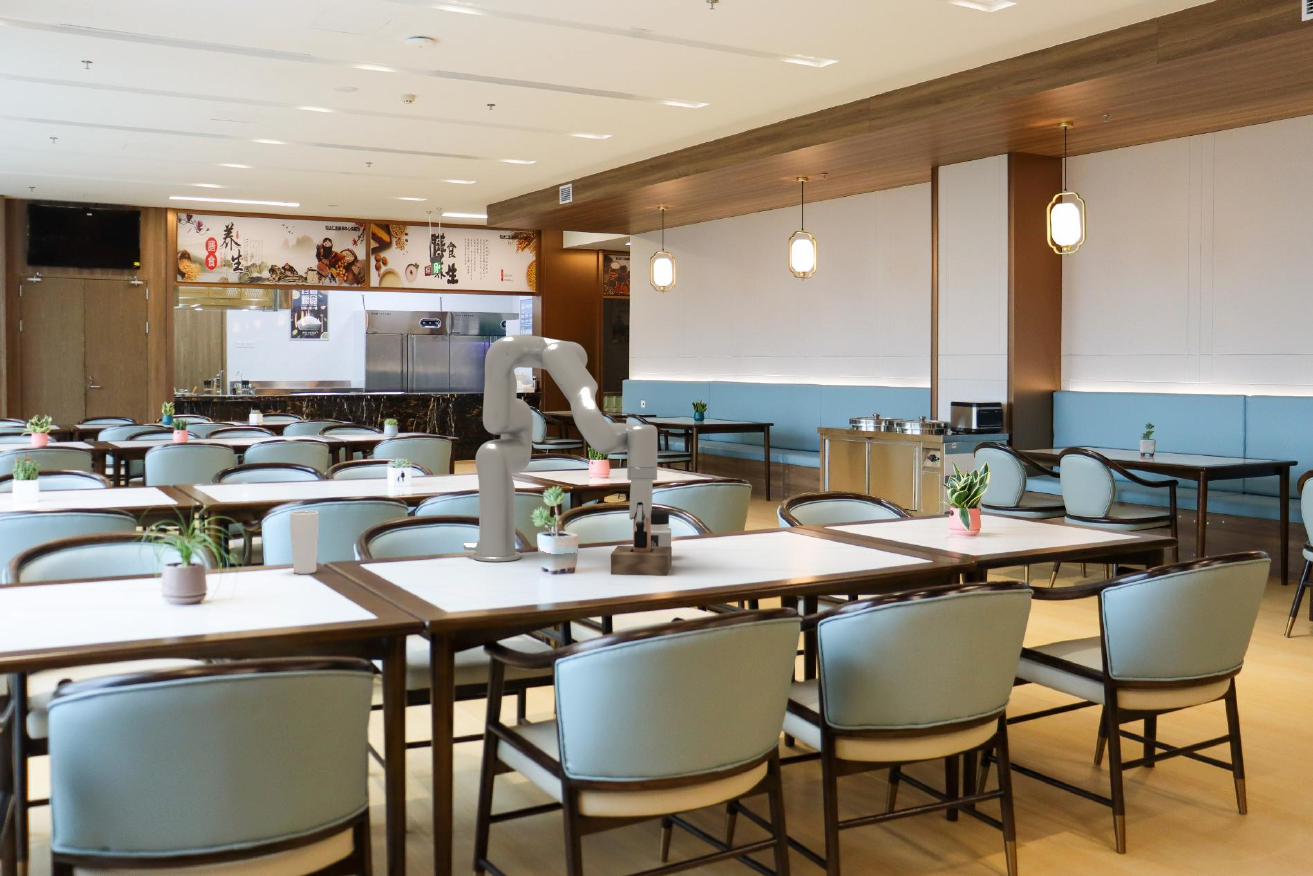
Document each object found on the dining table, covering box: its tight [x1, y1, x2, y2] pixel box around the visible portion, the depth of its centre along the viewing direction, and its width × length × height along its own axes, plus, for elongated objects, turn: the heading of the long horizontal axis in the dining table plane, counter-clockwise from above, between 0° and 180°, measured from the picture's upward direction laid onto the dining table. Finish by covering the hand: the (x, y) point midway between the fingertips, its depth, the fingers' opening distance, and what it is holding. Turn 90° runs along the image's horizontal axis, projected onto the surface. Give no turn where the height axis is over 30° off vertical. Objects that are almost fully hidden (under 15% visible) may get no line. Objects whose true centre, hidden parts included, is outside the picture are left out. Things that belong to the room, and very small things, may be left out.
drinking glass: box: [289, 510, 320, 575], centre depth 285 cm, size 7×7×15 cm
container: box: [651, 508, 672, 547], centre depth 311 cm, size 8×8×13 cm
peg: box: [632, 514, 651, 552], centre depth 292 cm, size 4×4×12 cm
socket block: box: [610, 545, 673, 576], centre depth 292 cm, size 14×14×5 cm
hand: (641, 545), depth 292 cm, fingers closed on peg, 4 cm apart
